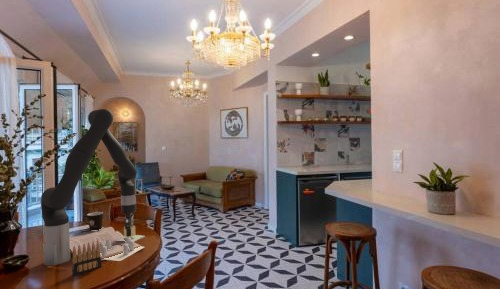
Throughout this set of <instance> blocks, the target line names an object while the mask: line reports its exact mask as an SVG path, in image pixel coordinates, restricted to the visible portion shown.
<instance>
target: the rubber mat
mask: <svg viewBox="0 0 500 289" xmlns="http://www.w3.org/2000/svg"><path fill="white" fill-rule="evenodd" d="M121 238H123V239H124V240H125V241H126V239H127V238H131V240H134V243H135V242H137V241H138V240H141V239H144V238H146V235H141V234H136V235H134V236H132V237H125V236H124V235H123V236H122V237H121Z"/></svg>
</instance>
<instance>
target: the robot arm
mask: <svg viewBox="0 0 500 289" xmlns="http://www.w3.org/2000/svg"><path fill="white" fill-rule="evenodd" d="M87 121H88V123H89V124H90V127H89V129H88V130H87V132H85V133H84V135H83V136H81V138H79V140H78V141H77V142H76V143H75V144H74V145H73V146H72V148H71V150H70V152H69V153H68V155H67V158H66V159H65V160H66V161H65V162H64V163H65V164H64V170H63V174H62V177H61V179H60V180H59V182H58V184H57V185H56V186H55V187H54V186H53V187H49V188H46V189H45V190H44V191H43V193H42V194H41V198H40V205H41V206H40V207H41V217H42V220H43V224H44V243H43V244H42V250H43V252H42V254H43V265H44V266H49V267H50V266H52V267H56V266H58V265H61V264H64V263H67V262H69V261H70V260H71V245H70V220H69V215H68V213H67V212H66V209H65V208H66V207H67V206H68V205H69V204H70V203H71V200H72V197H73V196H74V193H75V191H76V188H77V186H78V183H79V182H80V180H81V178H82V176H83V174H84V172H85V170H86V169H87V167H88V165H89V164H90V161H91V160H92V158H93V156H94V154H95V152H96V150H97V148H98V147H99V145H100V143H101V141H102V143H103V145H104V146H105V148H106V150H107V152H108V153H109V155H110V158H111V159H112V160H113V163H114V164H115V165H117V166H118V167H119V169H118V172H117V177H118V182H119V186H120V209H121V210H120V213H121V214H125V215H124V226H125V229H126V235H127V237H129V236H131V225H134V213H135V212H137V197H136V186H135V184H134V183H133V182H132V180H134V179H135V178H136V177H137V174H138V172H137V168H136V167H135V165H134V163H133V162H132V161H131V160H130V158H129V157H128V155H127V153H126V151H125V149H124V148H123V146H122V144H121V142H119V141H118V140H117V138H116V137H115V136H114V135H113V134H112V132H111V131H110V129H109V128H110V127H111V125H112V124H113V121H114V114H113V113H112V111H111V110H110V109H107V108H99V109H94V110H91V111H90V112H89V113H88V116H87ZM127 225H129V227H127Z"/></svg>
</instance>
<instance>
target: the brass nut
mask: <svg viewBox="0 0 500 289" xmlns="http://www.w3.org/2000/svg"><path fill="white" fill-rule="evenodd" d="M127 227H129V225H127ZM134 235H137V234H136V225H134V224H133V225H131V236H129V237H132V236H134ZM124 236H125V237H127V235H126V229H125V225H124V226H123V237H124Z"/></svg>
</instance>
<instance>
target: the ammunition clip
mask: <svg viewBox="0 0 500 289" xmlns="http://www.w3.org/2000/svg"><path fill="white" fill-rule="evenodd" d="M91 255H92V257H91ZM71 259H72V264H71V265H72V267H71V268H72V269H71V270H72V272H71V275H72V277H76V276H77V277H78V276H80V275H83V274H86V273H91V272H92V271H94V270H96V269H100V268H102V266H103V265H102V259H101V255H100V241H99V240H97V241H96V244H95V241H92V244H90V242H87V246H86V244H85V243H83V244H82V247H81V245H80V244H78V246H77V248H76V246H75V245H74V246H73V247H72V258H71Z"/></svg>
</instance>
